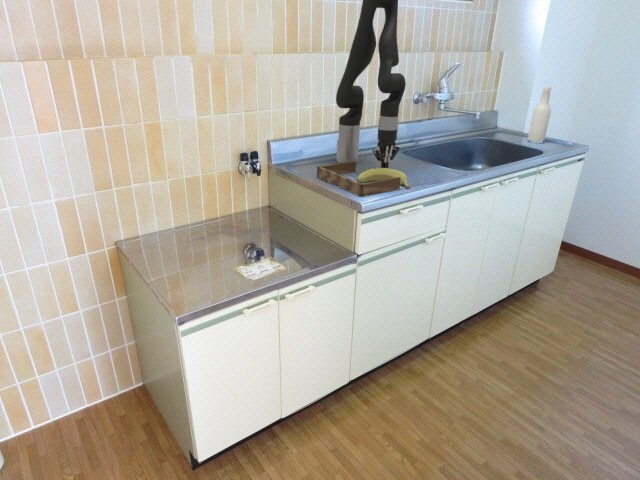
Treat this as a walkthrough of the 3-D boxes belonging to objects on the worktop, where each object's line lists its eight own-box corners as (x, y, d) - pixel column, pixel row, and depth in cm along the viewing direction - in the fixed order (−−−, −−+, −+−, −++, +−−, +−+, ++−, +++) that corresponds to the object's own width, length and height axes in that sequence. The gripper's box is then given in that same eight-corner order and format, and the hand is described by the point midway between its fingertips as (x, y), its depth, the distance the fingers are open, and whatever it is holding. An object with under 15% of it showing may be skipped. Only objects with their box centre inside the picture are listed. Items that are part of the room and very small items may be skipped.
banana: (375, 159, 185) (418, 175, 175) (375, 171, 189) (417, 187, 178) (355, 174, 178) (398, 191, 167) (355, 186, 181) (397, 203, 171)
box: (316, 177, 184) (317, 166, 183) (353, 171, 194) (354, 160, 193) (360, 197, 163) (361, 184, 162) (399, 188, 173) (400, 177, 172)
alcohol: (527, 142, 259) (539, 87, 246) (526, 139, 266) (537, 85, 254) (544, 144, 256) (557, 88, 244) (542, 141, 264) (555, 86, 252)
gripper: (393, 124, 184) (389, 166, 191) (368, 127, 177) (365, 171, 184) (407, 127, 179) (402, 171, 186) (381, 130, 172) (378, 175, 179)
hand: (384, 170), depth 185 cm, fingers closed
